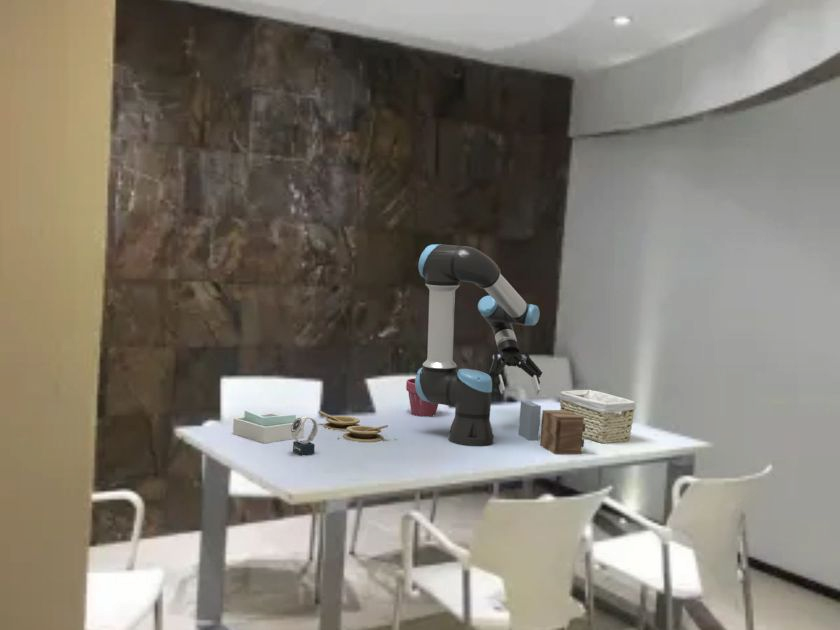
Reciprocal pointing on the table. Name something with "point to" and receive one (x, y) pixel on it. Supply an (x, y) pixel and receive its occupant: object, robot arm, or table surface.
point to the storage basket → (600, 414)
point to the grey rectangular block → (529, 420)
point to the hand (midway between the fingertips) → (520, 392)
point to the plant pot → (419, 401)
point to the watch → (306, 445)
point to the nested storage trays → (263, 430)
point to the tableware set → (353, 428)
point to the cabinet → (562, 432)
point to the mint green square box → (268, 419)
